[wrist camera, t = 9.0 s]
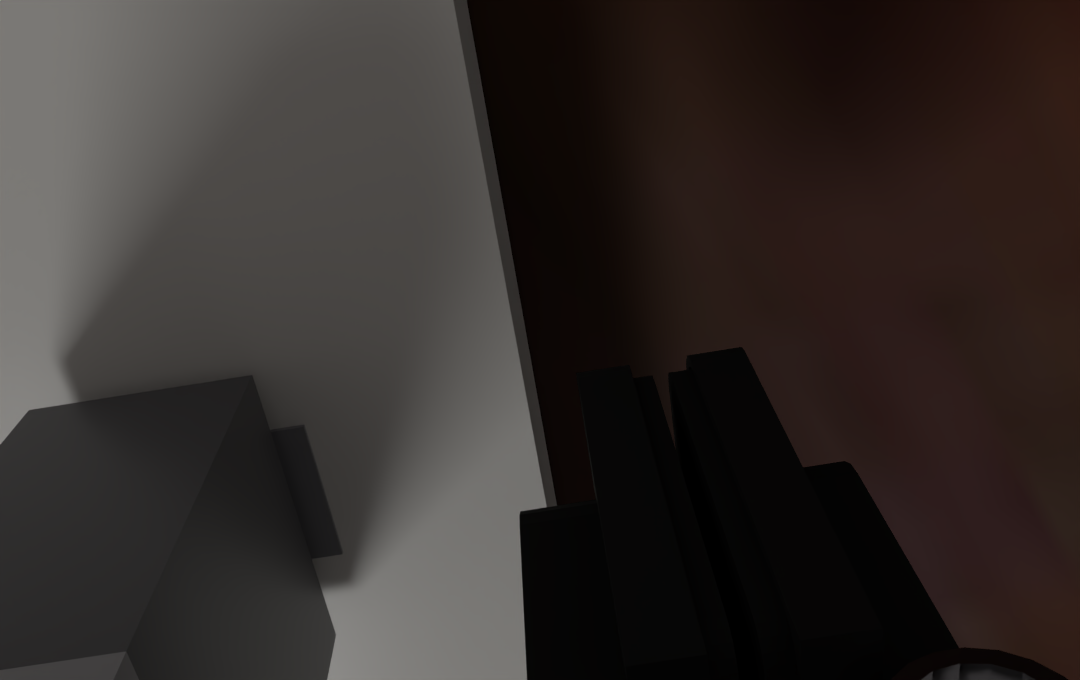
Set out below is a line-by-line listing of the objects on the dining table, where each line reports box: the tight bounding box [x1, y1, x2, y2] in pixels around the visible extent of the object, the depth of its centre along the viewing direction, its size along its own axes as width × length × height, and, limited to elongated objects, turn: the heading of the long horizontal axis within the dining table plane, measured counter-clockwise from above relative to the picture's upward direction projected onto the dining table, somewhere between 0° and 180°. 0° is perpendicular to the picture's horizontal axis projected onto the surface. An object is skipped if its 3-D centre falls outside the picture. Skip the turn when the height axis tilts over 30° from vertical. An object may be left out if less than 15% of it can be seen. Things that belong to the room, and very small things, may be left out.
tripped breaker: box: [0, 375, 336, 680], centre depth 9 cm, size 2×4×4 cm, turn 9°
